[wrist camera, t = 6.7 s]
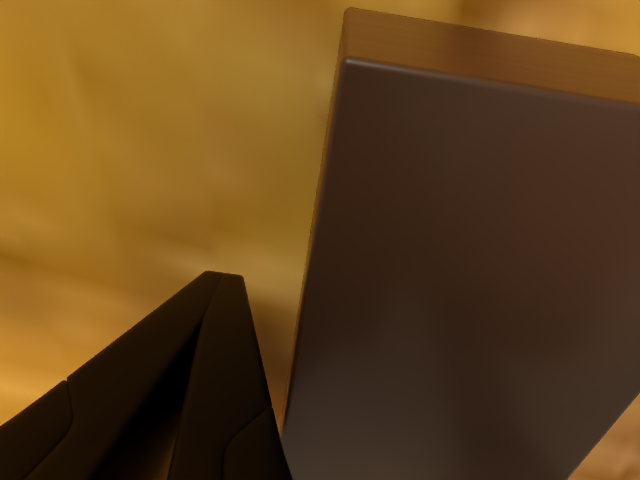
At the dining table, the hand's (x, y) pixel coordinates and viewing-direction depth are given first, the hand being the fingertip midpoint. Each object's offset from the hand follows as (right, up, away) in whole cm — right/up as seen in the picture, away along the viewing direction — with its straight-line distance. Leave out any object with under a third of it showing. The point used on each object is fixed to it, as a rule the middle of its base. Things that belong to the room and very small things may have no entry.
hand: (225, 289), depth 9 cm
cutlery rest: (+4, 0, +1) cm, 4 cm away
